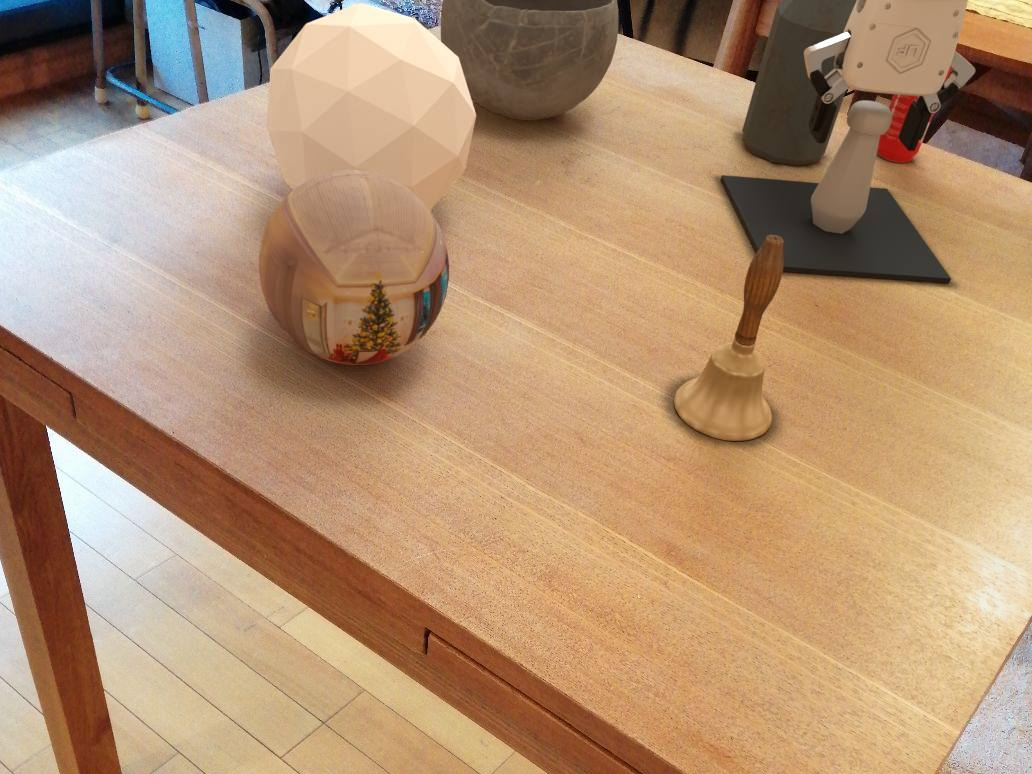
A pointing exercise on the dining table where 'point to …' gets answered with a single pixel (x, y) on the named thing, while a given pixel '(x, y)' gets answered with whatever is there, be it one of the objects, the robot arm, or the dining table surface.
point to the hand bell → (737, 363)
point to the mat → (809, 249)
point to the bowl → (531, 51)
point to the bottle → (792, 82)
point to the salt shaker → (851, 169)
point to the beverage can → (889, 141)
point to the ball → (371, 102)
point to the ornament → (353, 267)
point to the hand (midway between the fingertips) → (861, 141)
